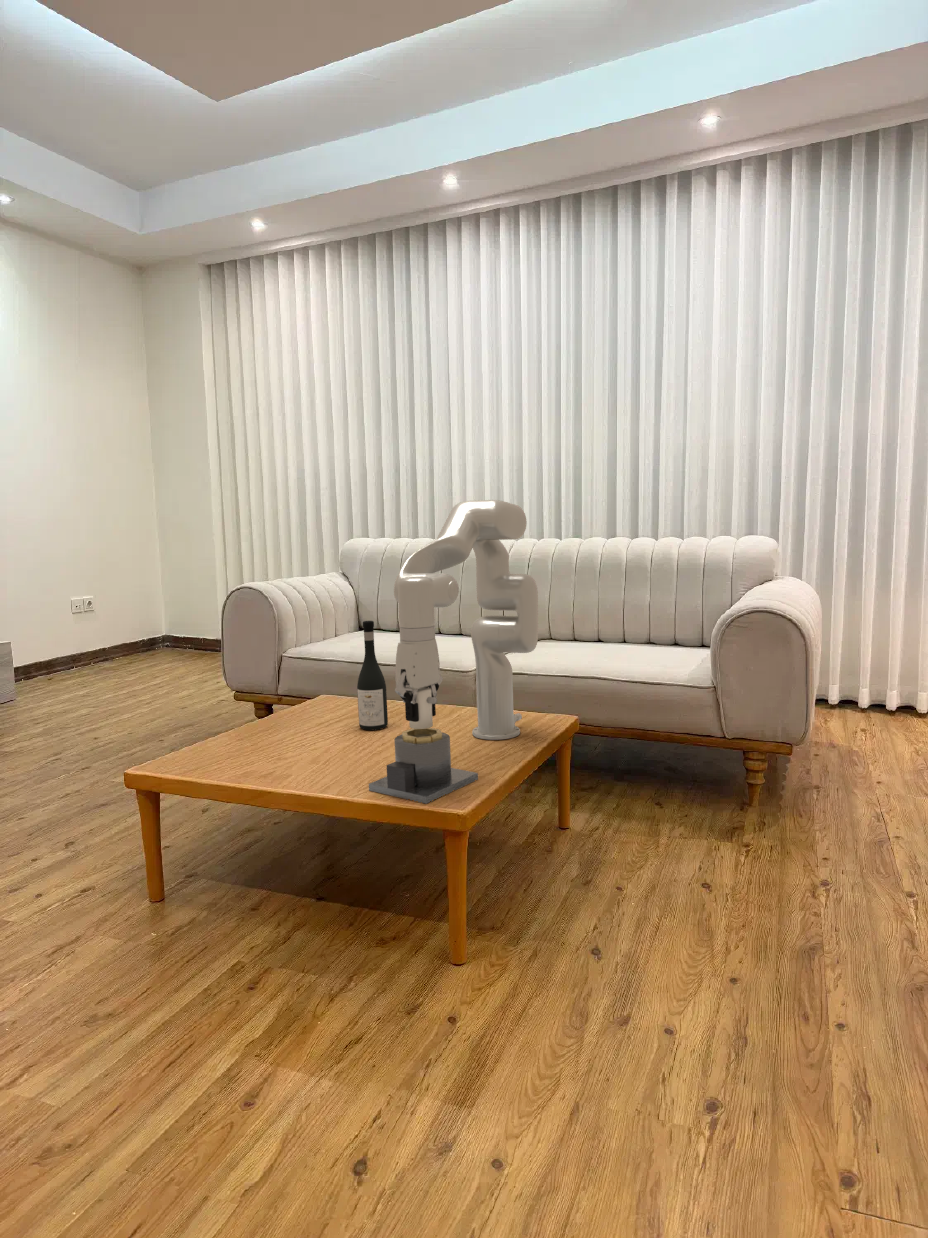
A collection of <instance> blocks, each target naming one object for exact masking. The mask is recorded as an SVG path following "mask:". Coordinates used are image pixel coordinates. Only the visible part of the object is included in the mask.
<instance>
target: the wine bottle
mask: <svg viewBox="0 0 928 1238" xmlns="http://www.w3.org/2000/svg"><path fill="white" fill-rule="evenodd" d="M374 627H375V622H374V620H364V621H362V628H363V637H364V638H363V639H364V659H363V662H362V667H361V669H360V671H359V676H358V678H357V683H356V684H357V687H356V690H357V692H356V694H357V709H358V725H359V728H360V729H362V730H366V731H378V729H379V730H382V728H383V729H385V728H386V727H387V726H388V725H389V720H388V719H389V718H388V699H387V698H388V696H387V684H386V679H385V677H384V674H383V672H382V669H381V667H380V665H379V662H378V660H377V657H376V652H375V650H376V649H375V634H374V633H375V632H374V631H375V630H374Z"/></svg>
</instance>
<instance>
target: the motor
mask: <svg viewBox="0 0 928 1238" xmlns="http://www.w3.org/2000/svg"><path fill="white" fill-rule="evenodd" d="M450 738H451V736H450V735H449V734H448V733H447V732H442V730H441V729H440V728H433V727H430V728H425V729H413V728H410V729H407V730H404V731H402V732H401V734H398V735H397V736H395V737H394V756H395V757H394V760H395V761H393V762H391V763H389V764H386V776H384V777H381V778H380V779H377V780H375V781H372V782H370V783H368V791H369V792H375V793H378V794H381V795H382V794H383V795H385V796H386V795H387V796H392V797H396V798H399V799H403V800H408V799H410V800H409V801H412V800H414V801H413V802H416V801H418V803H421V802H422V803H421V804H425V805H427V804H429V803H431V802H433V801H435V800H434V799H436V800H438V799H440V798H442V797H444V796H446V795H449V794H450V793H452V791H453V790H455V791H457V790H458V789H461V788H463V787H465V786H468V785H469V784H472V783H473V782H475V780H476V781H479V773H478V772H475V771H470V770H465V769H464V770H463V769H459V768H454V767H452V761H451V758H452V757H451V754H452V753H451V739H450ZM453 792H454V791H453ZM445 794H446V795H445ZM443 795H444V796H443ZM441 796H442V797H441ZM439 797H440V798H439ZM437 798H438V799H437ZM432 800H433V801H432ZM430 801H431V802H430Z"/></svg>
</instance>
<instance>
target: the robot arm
mask: <svg viewBox="0 0 928 1238" xmlns="http://www.w3.org/2000/svg"><path fill="white" fill-rule="evenodd" d="M527 524H528V523H527V517H526V513H525V511H524V509H523V508H522V507H520V506H519V505H517V504H515V503H512V502H511V503H510V502H508V501H504V500H499V499H481V500H480V499H478V500H475V499H474V500H463V501H460V502H457V504H454V506H453V507H452V508H451V510H450V512H449V514H448V515H447V518H446V520H445V521H444V523H443V526H442V527H441V530H440V532H439V533H438V535H437V537H436V539H433V540H432V541H430V542H428V543H427V544H425V545H424V546H422V547H421V548H420V549H418V550H416V551H415V552H413V553H412V554H411V555H409V557H407V559H405V561H404V563H403V565H402V566H401V567H400V570H399V572H398V574H397V576H396V578H395V580H394V586H393V595H394V598H395V601H396V602H397V603H398V620H399V622H398V623H399V624H398V625H399V642H398V643H397V646H396V647H397V648H396V653H395V654H396V656H395V689H394V692H395V693H396V694H397V695H398V696H399V697H400V698H401V699H402V702H403V703H404V710H405V720H406V721H408V722H409V721H413V722H417V721H419V711H418V703H416V698H417V691H418V689H420V688H424V687H426V688H431V696H432V697H436V698H437V695H438V690H439V687H440V685H441V683H443V679H444V678H443V676H442V675H441V667H440V657H439V649H438V643H437V639H436V625H435V624H436V622H435V621H436V619H435V608H447V607H449V606H452V605H453V604H454V603H455V602H456V600H458V599H457V598H458V596H459V590H460V589H459V584H458V582H457V579H456V578H455V577H453V575H450V574H448V573H442V572H440V571H444V570H447V569H450V568H453V567H456V566H457V565H460V564H462V563H463V562H465V561H467V559H468V558H469V557H470V553H472V550H473V552H474V555H475V563H476V564H475V565H476V567H475V568H476V569H475V571H476V585H475V586H476V599H477V604H478V606H479V607H480V608H481V609H482V610H488V611H506V612H508V611H509V612H510V611H511V612H512V611H513V612H516V613H517V615H483V616H480V617H478V618H476V619H475V620H474V621H473V622H472V624H471V628H470V637H471V638H470V639H471V643H472V646H473V647H472V648H473V651H474V658H475V659H474V660H475V675H476V677H475V679H476V703H477V704H476V705H477V706H476V707H477V711H476V712H477V726H475V727H474V728H472V736H474V737H475V738H476V739H480V740H481V739H482V740H486V741H487V740H489V741H490V740H491V741H494V740H495V741H499V740H501V741H502V740H508V739H512V738H516V737H518V736H519V735H520V733H521V729H520V727H518V726H516V722H518V721H521V720H522V717H523V715H522V714H521V713H520V712H518V713H514V690H513V689H514V686H513V668H512V665H511V662H510V660H509V658H508V657H507V655H506V653H509V654H510V653H512V654H513V653H514V654H527V653H528V654H529V653H532V652H533V651H535V649H536V647H537V645H538V641H539V640H538V638H539V592H538V587H537V586H538V585H537V583H536V581H535V578H533V576H531V575H529V574H526V573H511V572H510V558H509V557H510V555H509V552H508V550H507V548H506V546H505V545H504V544H503V542H502V541H504V540H505V541H506V540H510V541H511V540H518V539H520V538H521V537H522V536H524V533H526V530H527ZM501 540H502V541H501ZM439 572H440V573H439ZM409 691H412V694H411V695H410V694H409ZM436 713H437V712H436V704H432V717H435V716H436Z"/></svg>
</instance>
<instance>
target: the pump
mask: <svg viewBox="0 0 928 1238" xmlns="http://www.w3.org/2000/svg"><path fill="white" fill-rule="evenodd" d="M409 694H410V695H411V694H412V691H409ZM416 703H418V711H419V721H417V722H413V721H408V722H409V728H410V729H425V728H433V722H434V721H433V716H432V704H435V705H436V704H437V703H438V698H437V696H436V697H432V696H431V688H429V687H428V688H426V687H424V688H420V689H418V691H417V698H416Z"/></svg>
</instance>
